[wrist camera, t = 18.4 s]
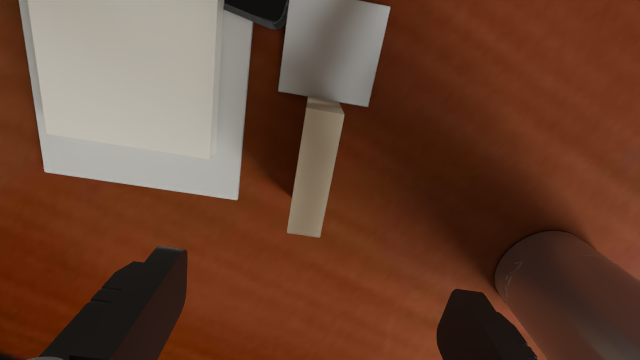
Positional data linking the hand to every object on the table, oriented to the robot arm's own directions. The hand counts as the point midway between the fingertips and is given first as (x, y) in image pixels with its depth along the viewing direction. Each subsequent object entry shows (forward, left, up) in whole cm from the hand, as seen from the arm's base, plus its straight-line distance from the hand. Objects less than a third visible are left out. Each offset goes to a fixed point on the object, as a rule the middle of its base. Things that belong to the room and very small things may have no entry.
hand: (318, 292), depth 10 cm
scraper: (0, -2, -19) cm, 19 cm away
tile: (+14, +3, -17) cm, 22 cm away
